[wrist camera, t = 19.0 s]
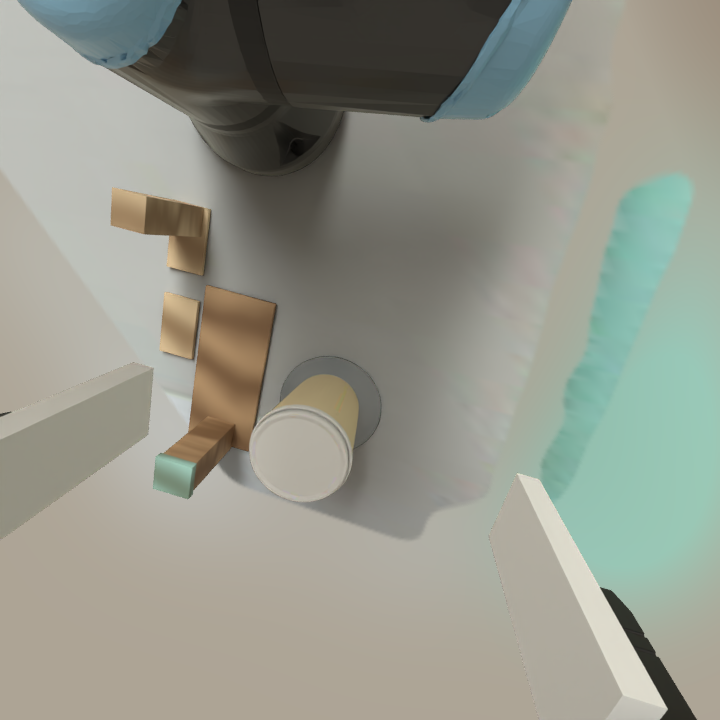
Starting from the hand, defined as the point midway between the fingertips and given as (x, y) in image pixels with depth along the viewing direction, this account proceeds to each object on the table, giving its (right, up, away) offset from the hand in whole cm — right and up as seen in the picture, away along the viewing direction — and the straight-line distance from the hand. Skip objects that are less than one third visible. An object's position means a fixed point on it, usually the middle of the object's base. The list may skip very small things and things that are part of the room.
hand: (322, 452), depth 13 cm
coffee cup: (-3, -2, +31) cm, 31 cm away
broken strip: (-19, +11, +29) cm, 36 cm away
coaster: (-2, -2, +31) cm, 31 cm away
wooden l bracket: (-14, +2, +31) cm, 35 cm away
